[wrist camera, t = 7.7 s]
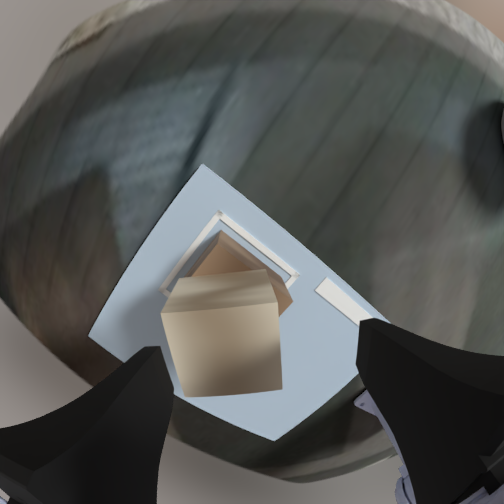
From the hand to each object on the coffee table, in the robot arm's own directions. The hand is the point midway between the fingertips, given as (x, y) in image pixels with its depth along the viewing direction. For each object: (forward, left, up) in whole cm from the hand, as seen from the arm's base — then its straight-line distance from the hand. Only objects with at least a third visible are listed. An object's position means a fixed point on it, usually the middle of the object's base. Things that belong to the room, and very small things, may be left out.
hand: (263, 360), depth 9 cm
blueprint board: (-3, +4, -10) cm, 11 cm away
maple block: (+1, +1, -5) cm, 6 cm away
